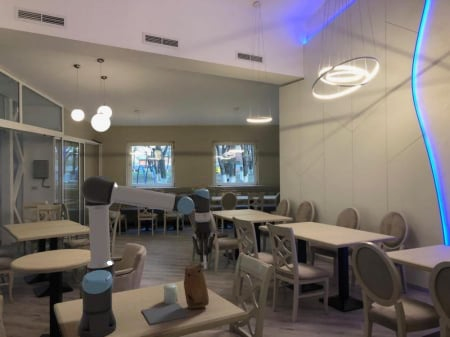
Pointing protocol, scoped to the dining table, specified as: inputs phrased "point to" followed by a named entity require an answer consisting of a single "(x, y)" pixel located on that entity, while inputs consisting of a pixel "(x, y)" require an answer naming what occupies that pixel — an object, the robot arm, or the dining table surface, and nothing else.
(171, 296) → the grey cylinder
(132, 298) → the dining table surface
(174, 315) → the mat
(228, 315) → the dining table surface
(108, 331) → the robot arm
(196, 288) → the block
